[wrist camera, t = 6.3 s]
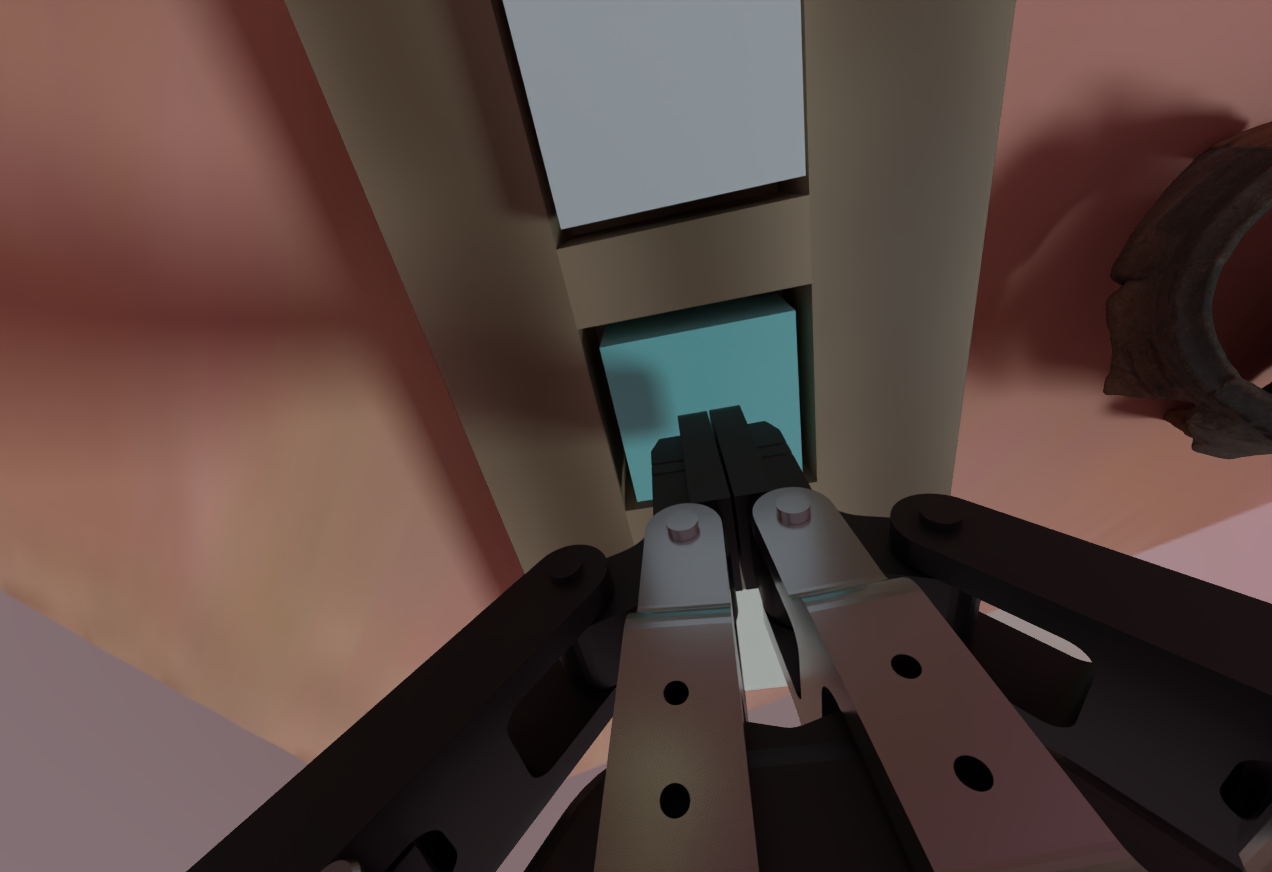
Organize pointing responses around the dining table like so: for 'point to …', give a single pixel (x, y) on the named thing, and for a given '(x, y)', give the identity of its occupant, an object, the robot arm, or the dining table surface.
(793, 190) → the console
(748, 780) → the robot arm
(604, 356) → the teal key
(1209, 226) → the pottery mug
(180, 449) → the dining table surface
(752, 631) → the cream key
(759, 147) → the grey key
